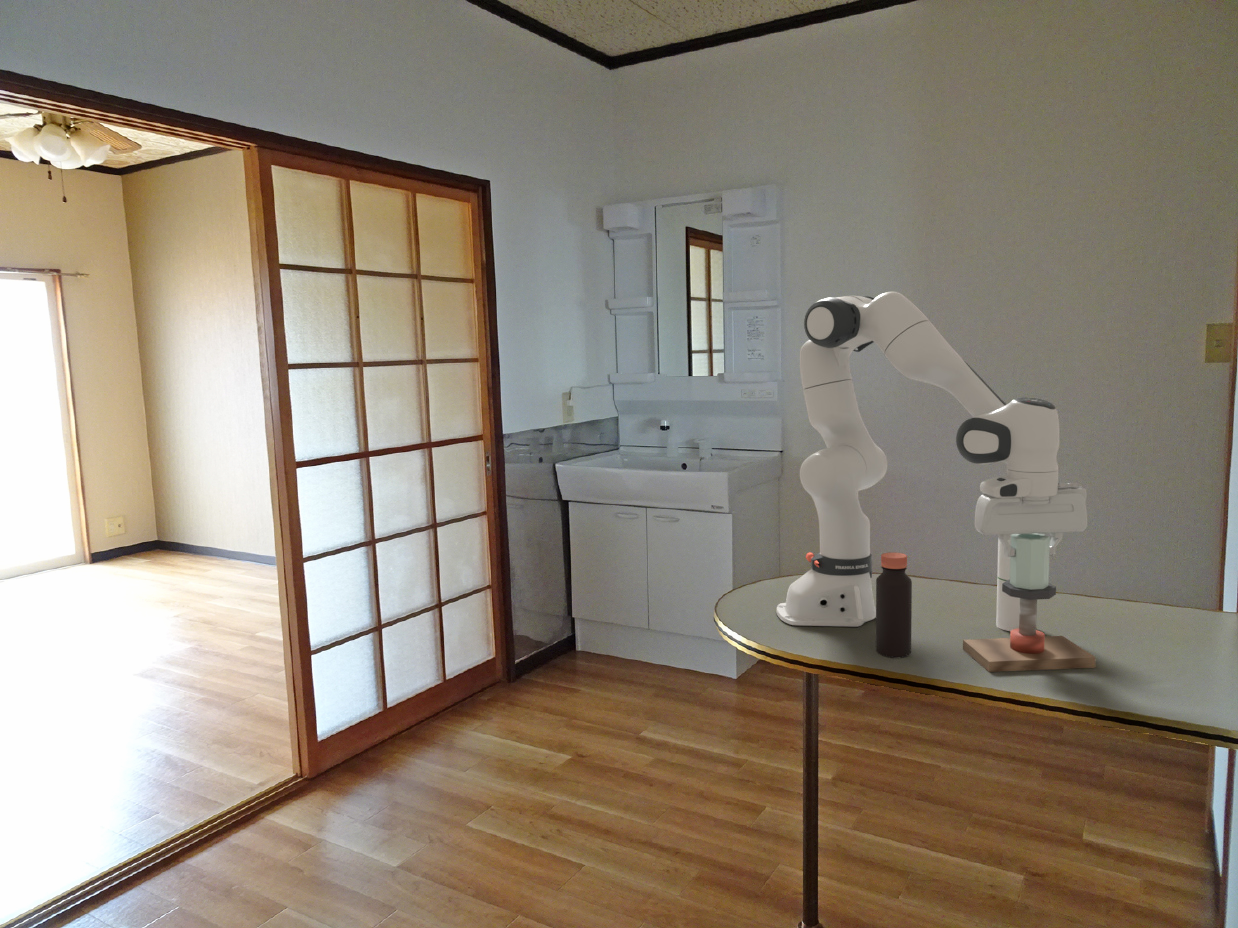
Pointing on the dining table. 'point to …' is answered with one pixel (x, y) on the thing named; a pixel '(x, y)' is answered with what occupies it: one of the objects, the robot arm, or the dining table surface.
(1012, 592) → the o ring
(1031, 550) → the sleeve
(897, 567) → the bottle
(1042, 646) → the pipe stand
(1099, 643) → the dining table surface
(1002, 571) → the cylindrical container
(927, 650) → the dining table surface
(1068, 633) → the dining table surface
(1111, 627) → the dining table surface
